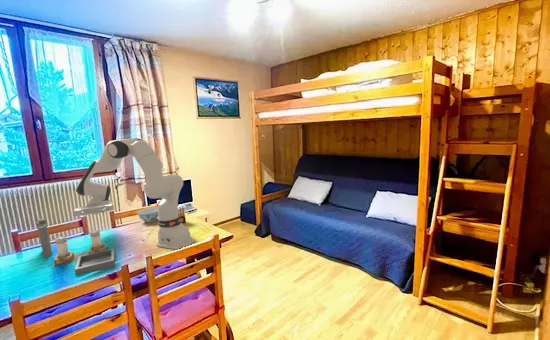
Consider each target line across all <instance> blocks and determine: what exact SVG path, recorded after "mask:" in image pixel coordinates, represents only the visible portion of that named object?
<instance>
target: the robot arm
mask: <svg viewBox="0 0 550 340" xmlns="http://www.w3.org/2000/svg"><path fill="white" fill-rule="evenodd" d="M133 157H134V159H135V160H136V162H137V164H138V165H139V168H141V170H142V172H143V174H144V176H145V186H144V190H143V191H144V193H145V195H146V197H148V198H149V199H151V200H152V199H160V201H159V203H158V204H157V207H156V208H157V209H158V217H157V218H158V219H157V223H158V227H159V228H158V231H157V243H156V247H158V248H165V249H170V250H180V249H179V248H181V249H183V248H182V247H184V248H186V247H188V246H191V245H192V244H194V243H195V242H196V239H195V238H194V237H192V236H191V233H190V229H189V228H187V227H185V225H184V223H183V224H182V223H181V220H182V219H180V217H179V215H180V214H179V215H178V210H179V208H178V207H179V206H178V205H179V203H178V202H179V195H180V192H181V190H182V188H183V186H184V180H183V177H182V176H181V175H179V174H175V173H173V174H166V175H164V174H163V172H162V169H163V162H162V161H161V159H160V157H159V156H158V155H157V153H156V152H155V150H154V149H153V148H152V146H151V145H150V144H149V143H148V142H147V141H146V140H143V139H141V138H137V137H135V138H122V139H115V140H110V141H108V142H107V143H106V145H105V147H104V148H103V150H102V153H101V155H100V157H99V158H98V159H94V160H93V161H92V162H91V163H90V165H89V166H88V167H87V169H86V171H85V173H84V174H83V176H82V178H81V179H80V181H79V182H78V183H77V184H76V187H75V191H76V193H77V194H78V195H79V196H83V197H84V196H85V197H86V196H87V197H90V199H89V200H88V202H87V204H86V205H85V206H80V207H79V206H78V207H76V208H75V209H73V216H74V217H80V216H84V217H85V216H87V215H99V214H100V213H106V212H111V211H114V210H115V206H114V202H112V200H111V199H109V198H110V195H111V187H110V185H109V184H106V183H102V182H97V181H92V180H91V178H93V175H94V174H95V173H101V172H102V173H103V172H112V171H115V170H117V169H119V167H120V165H121V163H122V161H123V159H124V158H125V159H126V158H133ZM185 246H186V247H185Z"/></svg>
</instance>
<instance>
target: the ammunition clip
mask: <svg viewBox="0 0 550 340" xmlns="http://www.w3.org/2000/svg"><path fill="white" fill-rule="evenodd" d="M178 215H179V217H180V219H182V220H181V223H183V224H187V220H186V219H187V218H186V214H185V210H184V206H179V208H178Z"/></svg>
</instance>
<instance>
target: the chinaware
mask: <svg viewBox="0 0 550 340" xmlns="http://www.w3.org/2000/svg"><path fill="white" fill-rule="evenodd" d="M137 216H138V217H139V218H140V219H141V220H143V221H144V222H145V223H152V222H155V221H156V219H157V218H159V217H158V209H157V207H146V208H144V209H140V210H138V211H137Z"/></svg>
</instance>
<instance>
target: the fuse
mask: <svg viewBox="0 0 550 340" xmlns="http://www.w3.org/2000/svg"><path fill="white" fill-rule="evenodd" d="M55 246H56V250H57V254H58V257H59V258H63V257H67V256H69V252H70V251H69V248H68V241H67V236H59V237H56V238H55Z"/></svg>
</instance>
